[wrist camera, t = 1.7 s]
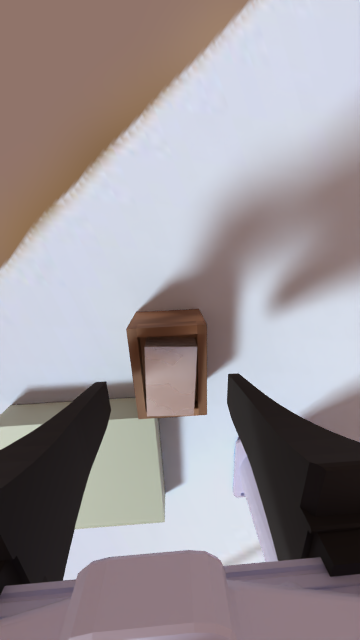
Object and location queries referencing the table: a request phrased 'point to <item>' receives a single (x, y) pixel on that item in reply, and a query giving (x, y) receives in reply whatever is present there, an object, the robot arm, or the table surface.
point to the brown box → (167, 326)
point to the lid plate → (170, 375)
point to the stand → (108, 463)
